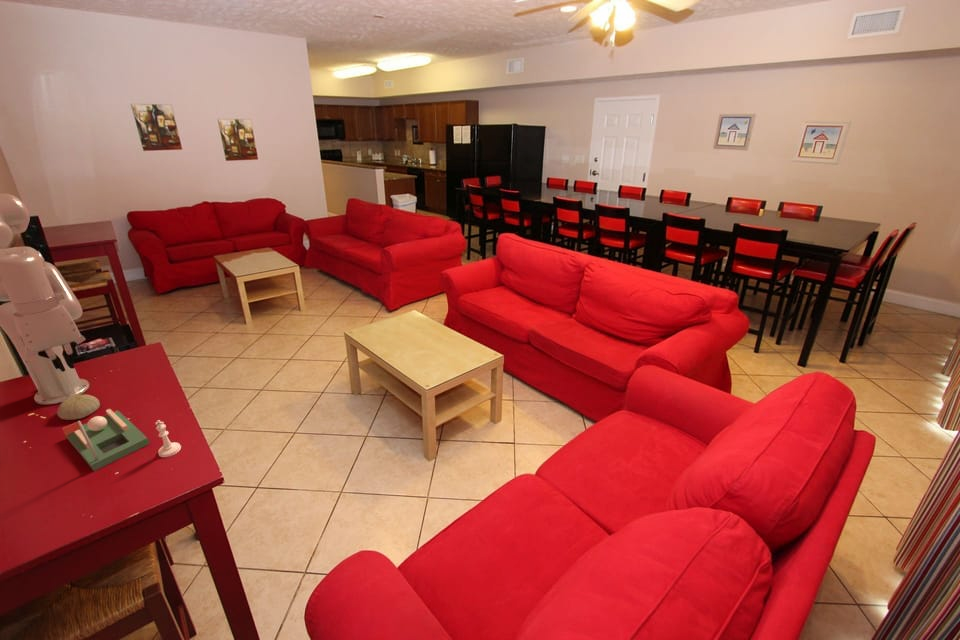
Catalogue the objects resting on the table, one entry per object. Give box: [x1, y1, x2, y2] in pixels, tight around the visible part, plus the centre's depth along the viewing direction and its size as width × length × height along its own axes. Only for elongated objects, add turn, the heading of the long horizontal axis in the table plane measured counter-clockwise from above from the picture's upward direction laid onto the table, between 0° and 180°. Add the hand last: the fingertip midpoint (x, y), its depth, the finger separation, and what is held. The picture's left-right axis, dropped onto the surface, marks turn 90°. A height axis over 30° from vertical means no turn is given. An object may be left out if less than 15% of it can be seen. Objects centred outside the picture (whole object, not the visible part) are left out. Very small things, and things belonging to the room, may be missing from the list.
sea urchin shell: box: [56, 393, 101, 421], centre depth 124 cm, size 9×8×8 cm
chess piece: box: [154, 419, 182, 458], centre depth 109 cm, size 5×5×10 cm
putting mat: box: [61, 408, 150, 472], centre depth 110 cm, size 20×14×14 cm
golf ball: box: [87, 415, 107, 431], centre depth 114 cm, size 4×4×4 cm
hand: (66, 368), depth 111 cm, fingers closed
